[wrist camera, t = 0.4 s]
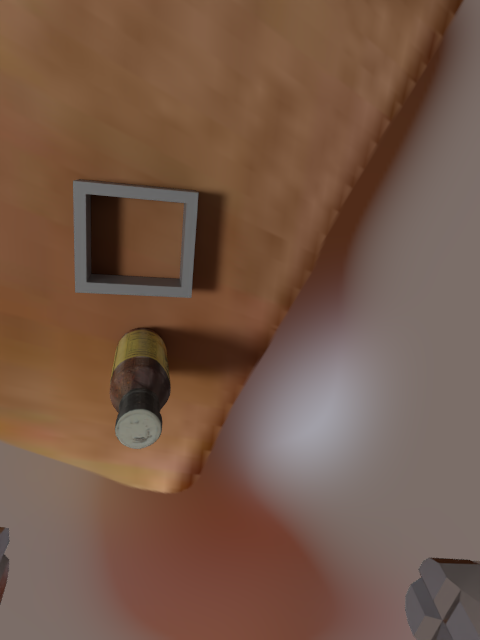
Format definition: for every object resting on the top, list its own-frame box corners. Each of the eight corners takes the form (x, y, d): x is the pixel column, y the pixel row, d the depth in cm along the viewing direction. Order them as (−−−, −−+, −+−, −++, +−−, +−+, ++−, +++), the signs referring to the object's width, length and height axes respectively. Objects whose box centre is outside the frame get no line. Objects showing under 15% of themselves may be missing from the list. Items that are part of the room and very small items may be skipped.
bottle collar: (79, 179, 49) (73, 180, 45) (195, 190, 51) (198, 192, 48) (80, 283, 52) (75, 292, 49) (188, 288, 55) (191, 297, 51)
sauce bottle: (152, 376, 58) (152, 475, 40) (108, 357, 56) (86, 452, 38) (175, 335, 57) (186, 417, 39) (131, 314, 55) (120, 391, 37)
